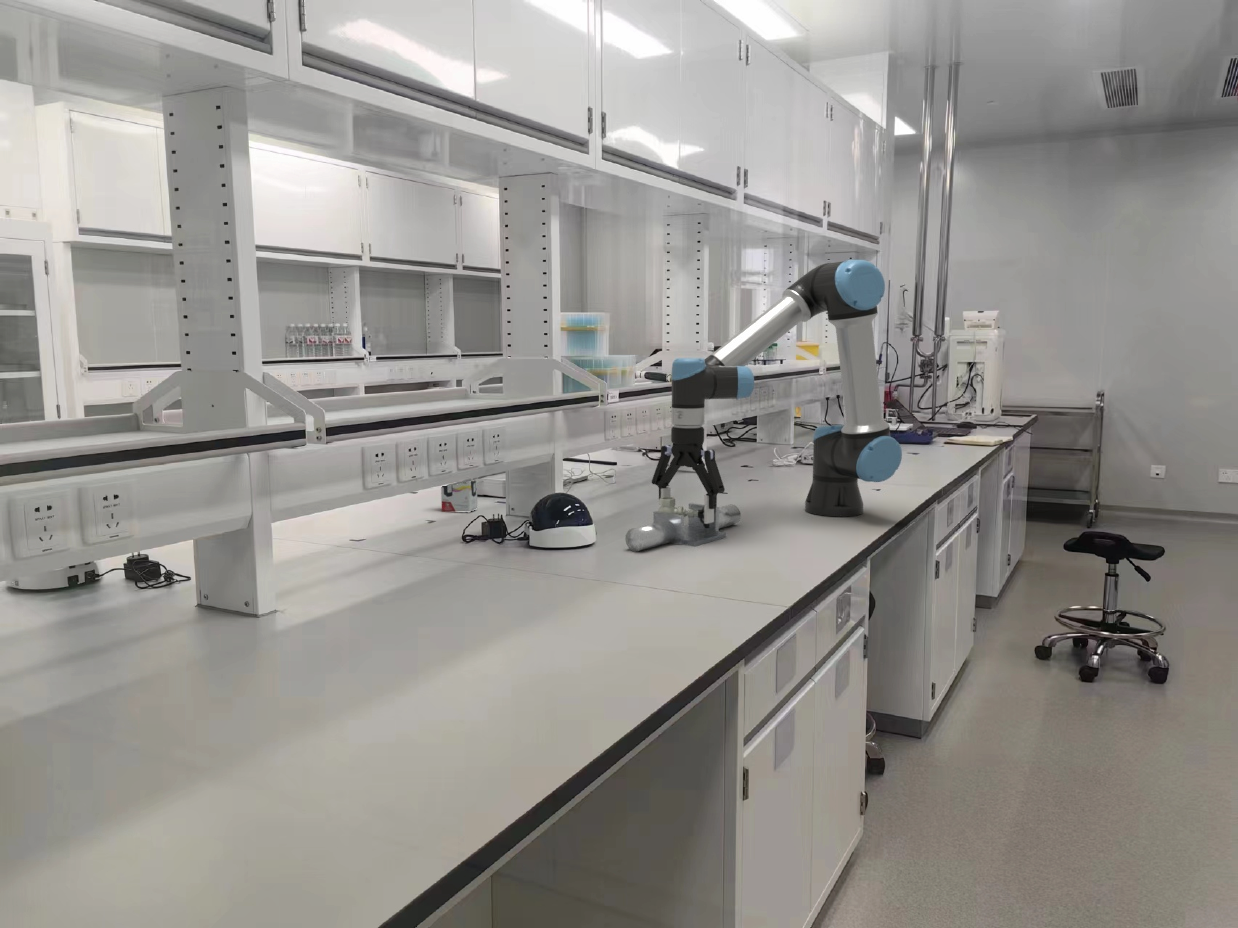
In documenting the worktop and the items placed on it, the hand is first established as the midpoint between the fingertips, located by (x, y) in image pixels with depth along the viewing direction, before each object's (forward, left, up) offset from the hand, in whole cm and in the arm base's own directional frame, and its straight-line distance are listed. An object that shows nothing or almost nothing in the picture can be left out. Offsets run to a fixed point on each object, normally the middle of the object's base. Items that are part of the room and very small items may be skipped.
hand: (686, 518), depth 204 cm
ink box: (+16, -64, -5) cm, 66 cm away
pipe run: (0, 0, -4) cm, 4 cm away
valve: (0, -1, -2) cm, 2 cm away
